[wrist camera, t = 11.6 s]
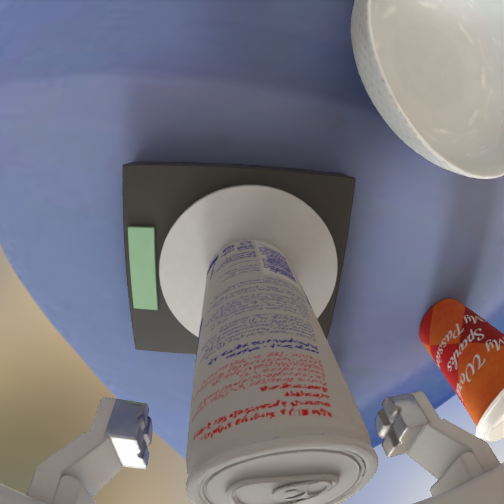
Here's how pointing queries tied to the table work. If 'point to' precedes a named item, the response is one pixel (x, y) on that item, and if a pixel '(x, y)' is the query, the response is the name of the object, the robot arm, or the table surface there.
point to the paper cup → (469, 362)
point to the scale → (224, 237)
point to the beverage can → (269, 392)
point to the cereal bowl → (437, 77)
